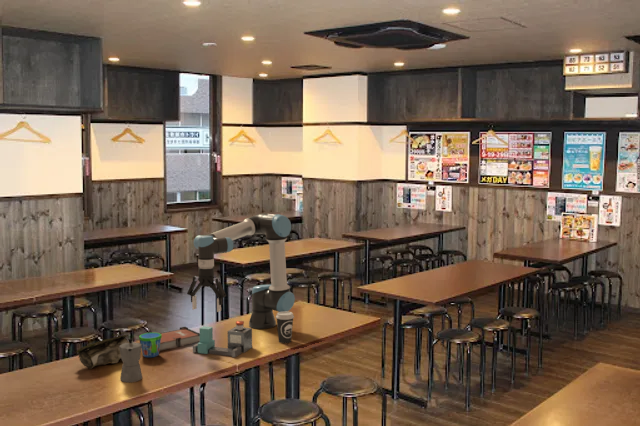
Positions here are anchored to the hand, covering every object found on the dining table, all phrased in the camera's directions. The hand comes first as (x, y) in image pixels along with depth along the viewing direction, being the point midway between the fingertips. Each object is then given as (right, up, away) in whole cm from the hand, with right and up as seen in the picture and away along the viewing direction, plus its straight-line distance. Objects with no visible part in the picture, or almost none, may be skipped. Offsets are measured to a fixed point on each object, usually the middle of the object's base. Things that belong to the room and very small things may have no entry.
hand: (206, 310), depth 319 cm
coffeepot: (-27, -25, -35) cm, 51 cm away
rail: (+5, -21, 0) cm, 22 cm away
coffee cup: (+38, -19, +19) cm, 46 cm away
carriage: (-1, -21, +2) cm, 21 cm away
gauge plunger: (+16, -13, +5) cm, 21 cm away
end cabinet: (+16, -20, +6) cm, 26 cm away
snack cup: (-26, -22, -4) cm, 34 cm away
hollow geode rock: (-45, -23, -16) cm, 53 cm away
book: (-21, -20, +16) cm, 33 cm away
